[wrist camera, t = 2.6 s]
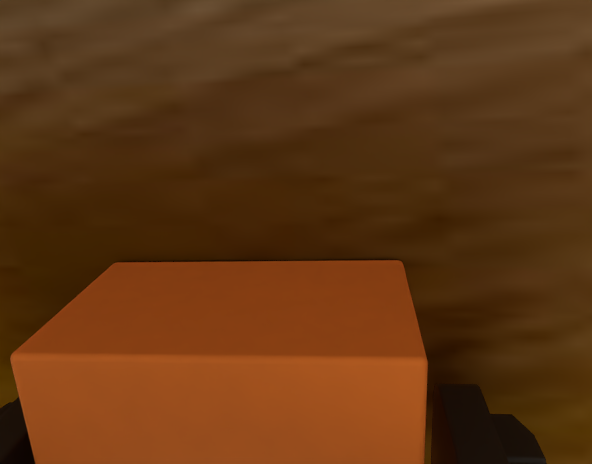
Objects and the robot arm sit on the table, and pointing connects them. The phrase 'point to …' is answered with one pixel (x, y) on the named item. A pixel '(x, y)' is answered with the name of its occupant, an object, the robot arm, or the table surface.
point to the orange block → (230, 367)
